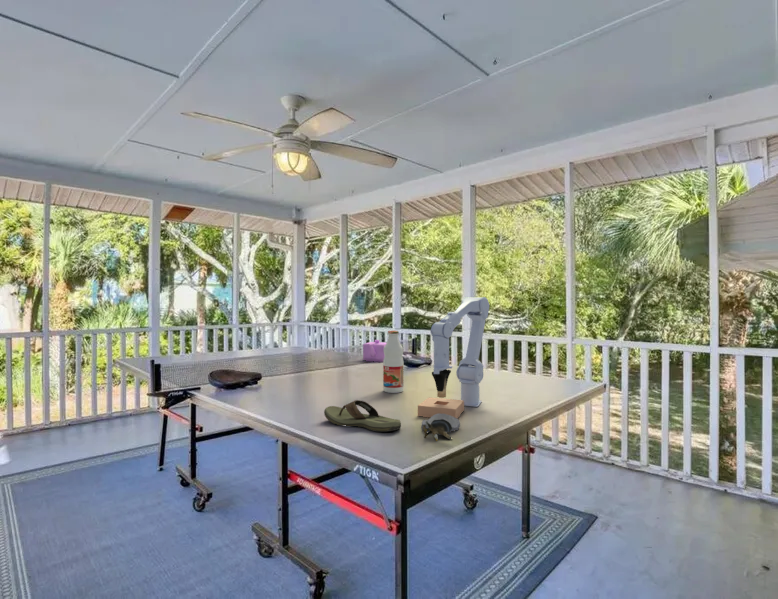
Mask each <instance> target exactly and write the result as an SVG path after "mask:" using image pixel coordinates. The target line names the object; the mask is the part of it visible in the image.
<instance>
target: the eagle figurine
mask: <svg viewBox="0 0 778 599" xmlns="http://www.w3.org/2000/svg"><path fill="white" fill-rule="evenodd" d="M425 423H426V425H427V426H428V427H429V428H426V425H422V424H421V425H422V426H423V427H422V428H423V431H424V432H423V431H422V432H423V434H424V439H425V438H427V437H428V436H429V435H432V436H433V437H434V439H435V442H438V440H439V435H437V434H441V435H440V436H444V437H445V438H446V439H448V440H451V437H452V436H451V435H450V434H449V433H446V432H450V430H452V427H451V424H450V423H449V422H448V421H446V420H444V419H440V420H434V421H433V422H432V423H431V424H429V423H428V421H425ZM426 431H429V432H428V433H427V432H426ZM450 433H451V432H450Z"/></svg>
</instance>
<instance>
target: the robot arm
mask: <svg viewBox="0 0 778 599" xmlns="http://www.w3.org/2000/svg"><path fill="white" fill-rule="evenodd" d="M460 303H461V304H459V306H458V307H457V309H455V310H454V311H448V312H447V313H446V315H445V316H444V317H443V318H441V319H440V320H439V321H436V322H434V323H433V324H432V326H431V328H430V330H429V331H430V335H431V337H432V341H433V366H432V367H433V371H432V372H431V376H432V378H433V379H434V380H433V381H434V383H435V387H436V390H437V391H443V389H444V382H445V378H446V387H447V385H448V380H449V377H450V374H451V372H452V370H451V369H452V368H453V366H452V365H450V337H452V336H453V331H454V329H455V328H456V327H457V326H459V324H460V323H461V321H462V320H461V319H462V318H463V317H464V316H467V317H468V318H470V319H471V321H472V322H471V328H470V333H469V337H468V338H469V339H468V341H467V342H468V343H467V349H466V353H465V354H466V355H465V357H464V358H463V359H461V360H460V361H459V365H458V367H457V368H456V374H455V375H456V378H457V380H459V383H460V400H464V407H475V408H476V407H479V406H480V405H481V403H482V400H480V384H481V382H482V381H483V380H484V365H483V363H482V362H481V361H480V360H479V359H480V353H481V346H482V343H483V342H482V341H483V336H484V330H485V325H486V319H488V316H489V313H490V312H489V311H490V302H489V299H488V298H487V297H485V296H483V297H480V296H479V297H474V296H473V297H470V296H469V297H468V296H465V297H463V299H462V300H461V302H460Z"/></svg>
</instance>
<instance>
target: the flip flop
mask: <svg viewBox="0 0 778 599" xmlns="http://www.w3.org/2000/svg"><path fill="white" fill-rule="evenodd" d="M358 407H361V408H362V409H363V410H365V411H366V412H367V413H362V411H360V409H359V408H358ZM323 414H324V417H325V418H326V420H328V421H329V422H331V423H332V424H333V425H335V424H337V425H336V426H338V425H346V426H358V427H357V428H364V429H367V430H368V431H373V432H379V433H381V432H382V433H383V432H384V433H386V432H393V431H397V430H400V429H401V427H402V422H401V420H400V419H398V418H396V419H395V418H390V417H386V416H383V415H379V413H378V411H377V409H375V407H373V405H371V404H370V403H368V402H366V401H364V400H360V399H359V400H358V399H356V400H353V401H352V402H349V403H346V404H344V405H343V406H341V407H339V406H334V405H331V406H327V407H325V409H324V411H323Z"/></svg>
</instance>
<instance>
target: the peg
mask: <svg viewBox="0 0 778 599" xmlns="http://www.w3.org/2000/svg"><path fill="white" fill-rule="evenodd" d="M436 395H437V397H436V398H443V399H445V398H446V397H447V386H446V378H445V382H444V389H443V391H437V394H436Z"/></svg>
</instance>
